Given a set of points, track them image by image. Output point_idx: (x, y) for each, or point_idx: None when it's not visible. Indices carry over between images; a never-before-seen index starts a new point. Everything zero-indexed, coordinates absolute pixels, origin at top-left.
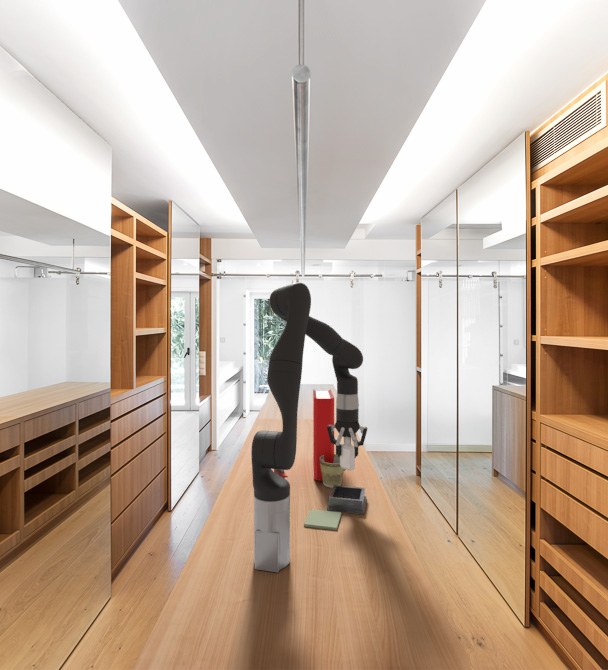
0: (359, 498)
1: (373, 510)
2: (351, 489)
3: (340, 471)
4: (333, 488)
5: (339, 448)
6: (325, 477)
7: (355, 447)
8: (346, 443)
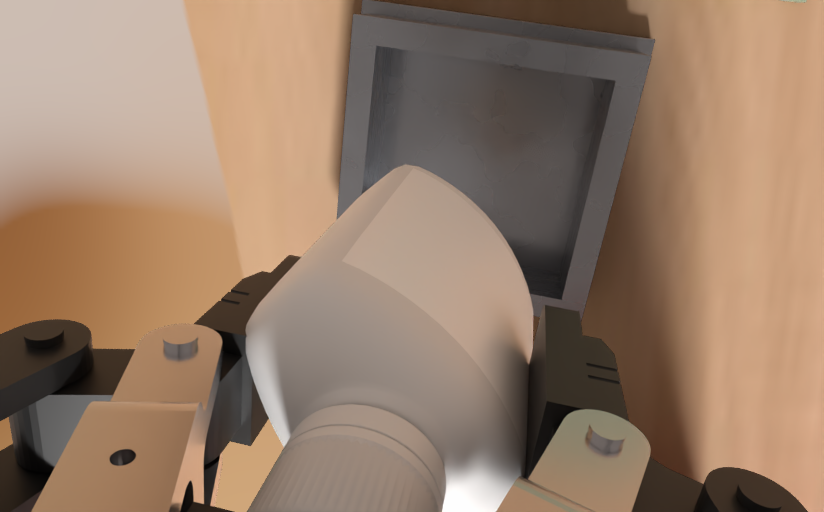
0: None
1: (301, 74)
2: None
3: None
4: (589, 258)
5: (552, 372)
6: None
7: (220, 327)
8: (386, 425)
